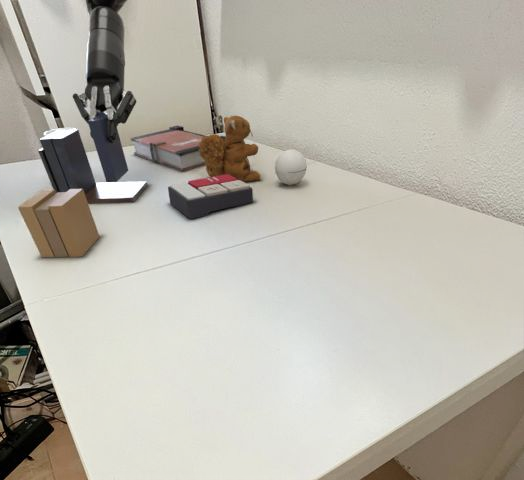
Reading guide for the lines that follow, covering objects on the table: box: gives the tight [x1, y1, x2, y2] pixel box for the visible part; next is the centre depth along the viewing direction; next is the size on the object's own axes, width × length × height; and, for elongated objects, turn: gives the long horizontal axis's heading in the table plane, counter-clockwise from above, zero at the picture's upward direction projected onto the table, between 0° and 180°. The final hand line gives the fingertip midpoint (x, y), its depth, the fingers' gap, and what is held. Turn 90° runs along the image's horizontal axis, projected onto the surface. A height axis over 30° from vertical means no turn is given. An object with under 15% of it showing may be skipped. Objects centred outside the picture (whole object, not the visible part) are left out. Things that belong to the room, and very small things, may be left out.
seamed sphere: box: [274, 148, 315, 186], centre depth 88 cm, size 10×7×7 cm
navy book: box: [87, 112, 129, 183], centre depth 84 cm, size 2×8×12 cm, turn 176°
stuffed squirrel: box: [197, 115, 261, 183], centre depth 91 cm, size 10×14×13 cm
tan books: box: [17, 189, 101, 258], centre depth 67 cm, size 8×8×9 cm
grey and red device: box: [167, 174, 254, 220], centre depth 82 cm, size 11×4×15 cm
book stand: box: [37, 129, 149, 204], centre depth 87 cm, size 19×11×13 cm, turn 86°
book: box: [129, 125, 226, 173], centre depth 111 cm, size 26×18×5 cm
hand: (103, 140), depth 81 cm, fingers closed on navy book, 2 cm apart
